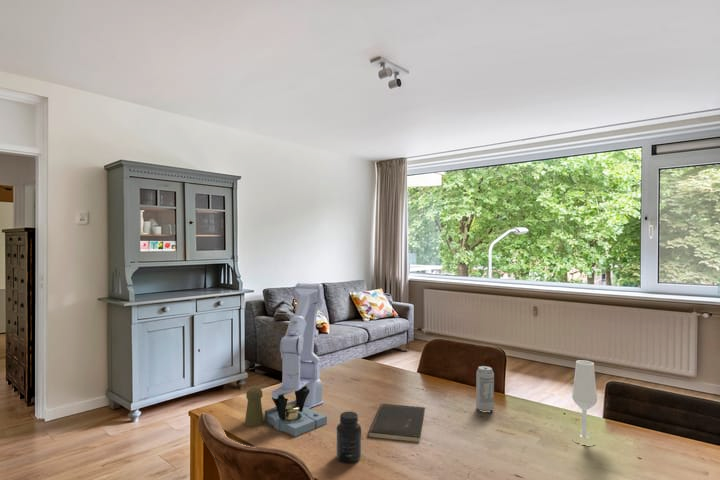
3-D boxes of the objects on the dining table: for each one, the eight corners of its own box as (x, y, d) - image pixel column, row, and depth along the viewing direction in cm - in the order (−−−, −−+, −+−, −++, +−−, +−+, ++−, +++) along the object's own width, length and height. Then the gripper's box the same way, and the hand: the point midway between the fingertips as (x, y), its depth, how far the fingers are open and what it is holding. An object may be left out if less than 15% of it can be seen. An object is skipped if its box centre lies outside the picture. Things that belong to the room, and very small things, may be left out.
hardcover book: (425, 413, 152) (425, 407, 152) (420, 444, 129) (420, 436, 129) (380, 409, 155) (380, 403, 155) (367, 438, 133) (367, 431, 133)
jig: (296, 410, 152) (296, 400, 152) (326, 423, 141) (326, 413, 141) (262, 422, 142) (262, 411, 142) (292, 437, 131) (292, 426, 131)
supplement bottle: (335, 452, 123) (336, 409, 123) (359, 451, 123) (360, 409, 123) (336, 464, 116) (337, 420, 116) (362, 463, 117) (362, 419, 117)
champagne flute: (587, 448, 127) (588, 366, 126) (566, 438, 133) (567, 360, 132) (601, 443, 130) (602, 363, 130) (580, 434, 136) (582, 358, 136)
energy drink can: (491, 407, 157) (492, 365, 157) (495, 413, 151) (495, 370, 151) (474, 406, 158) (475, 365, 158) (477, 412, 152) (478, 370, 152)
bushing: (297, 421, 143) (297, 403, 143) (300, 427, 138) (300, 409, 138) (282, 423, 141) (282, 405, 141) (285, 430, 136) (285, 411, 136)
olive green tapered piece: (259, 427, 138) (259, 393, 138) (241, 425, 139) (241, 391, 139) (266, 419, 144) (266, 386, 144) (249, 418, 145) (249, 385, 145)
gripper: (299, 365, 149) (298, 404, 149) (265, 375, 138) (265, 418, 138) (313, 369, 144) (313, 410, 144) (280, 380, 133) (279, 424, 133)
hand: (290, 414), depth 141 cm, fingers open, 7 cm apart
